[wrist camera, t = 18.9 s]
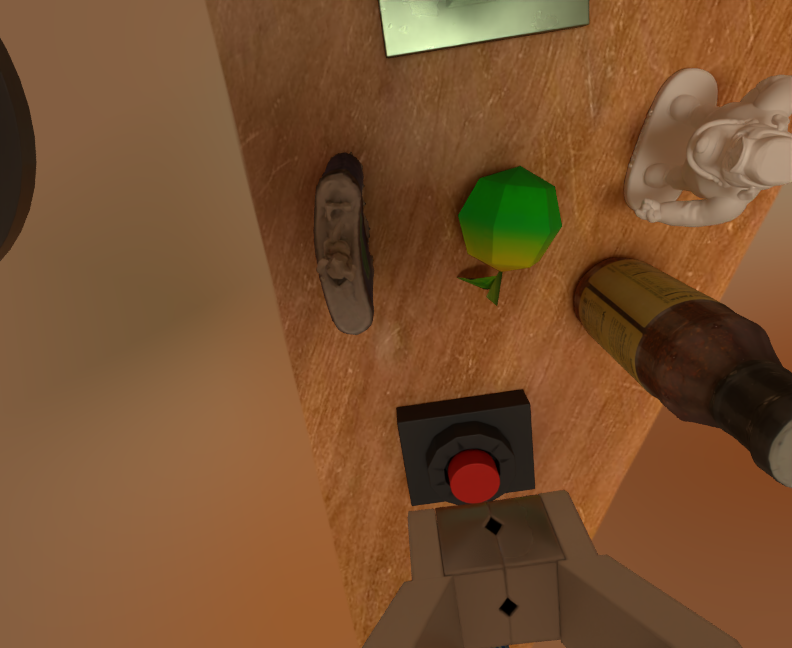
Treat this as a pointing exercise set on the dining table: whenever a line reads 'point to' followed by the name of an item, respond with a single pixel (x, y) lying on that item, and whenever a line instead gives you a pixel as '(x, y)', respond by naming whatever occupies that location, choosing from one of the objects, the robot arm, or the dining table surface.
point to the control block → (466, 442)
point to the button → (473, 476)
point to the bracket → (471, 22)
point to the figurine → (709, 150)
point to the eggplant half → (344, 245)
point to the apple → (509, 223)
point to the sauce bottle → (692, 356)
